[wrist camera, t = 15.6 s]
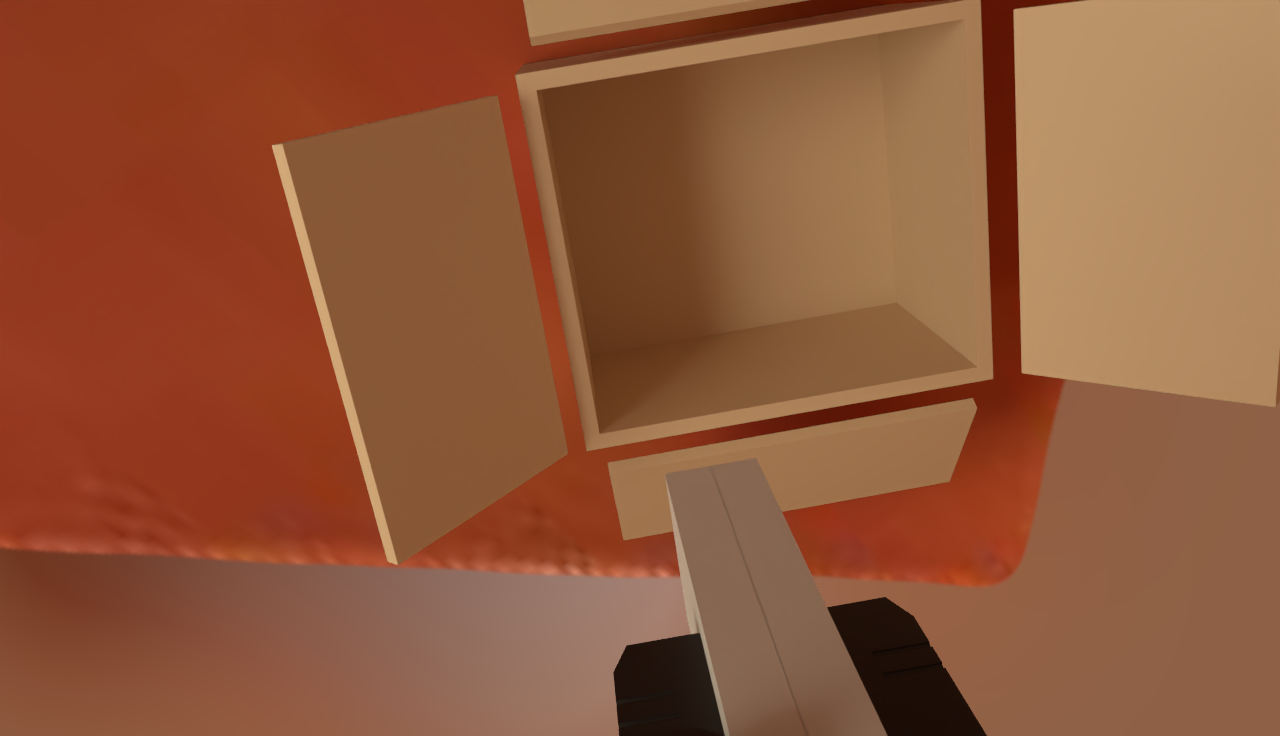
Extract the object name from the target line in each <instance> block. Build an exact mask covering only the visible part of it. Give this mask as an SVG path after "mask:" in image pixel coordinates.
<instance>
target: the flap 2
mask: <svg viewBox="0 0 1280 736" xmlns="http://www.w3.org/2000/svg"><path fill="white" fill-rule="evenodd" d="M523 1H524V7H525V13H526V19H527V25H528V31H529V37H530V42H531V46H535V45H542V44H548V43H554V42H560V41H566V40H572V39H578V38H584V37H590V36H596V35H602V34H608V33H614V32H620V31H626V30H632V29H638V28H644V27H650V26H657V25H663V24H669V23H675V22H681V21H687V20H693V19H699V18H705V17H711V16H717V15H723V14H729V13H735V12H741V11H747V10H753V9H759V8H766V7H772V6H778V5H784V4H790V3H796V2H802V1H808V0H523Z"/></svg>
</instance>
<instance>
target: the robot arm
mask: <svg viewBox="0 0 1280 736" xmlns="http://www.w3.org/2000/svg"><path fill="white" fill-rule="evenodd" d="M665 479H666V485H667V492H668V498H669V505H670V511H671V518H672V524H673V531H674V537H675V543H676V550H677V556H678V563H679V569H680V576H681V582H682V588H683V595H684V601H685V608H686V614H687V619H688V624H689V628H690V633H691V634H690V635H684V636H678V637H673V638H668V639H661V640H656V641H650V642H645V643H639V644H633V645H628V646H626V648H625V650H624V652H623V654H622V656H621V658H620V660H619V663H618V664H617V666H616V668H615V671H614V682H615V694H616V703H617V716H618V725H619V736H987V735H986V734H985V732H984V730H983V729H982V727H981V725H980V724H979V722H978V720H977V719H976V717H975V716H974V714H973V712H972V711H971V709H970V707H969V706H968V704H967V703H966V701H965V699H964V698H963V696H962V694H961V693H960V691H959V690H958V688H957V686H956V685H955V683H954V681H953V680H952V678H951V677H950V675H949V673H948V672H947V670H946V668H943V666H942V662H941V660H940V659H939V657H938V655H937V654H936V652H935V650H934V649H933V647H930V644H929V641H928V639H927V637H926V636H925V634H924V633H923V631H922V629H921V628H920V626H919V624H918V623H917V621H916V620H915V618H914V616H912V615H911V614H909V613H908V612H906V611H905V610H903V609H902V608H900V607H899V606H897V605H896V604H895V603H893V602H891V601H890V600H889V599H887V598H886V597H883V598H878V599H872V600H867V601H861V602H855V603H850V604H844V605H838V606H832V607H826V605H825V603H824V600H823V598H822V596H821V594H820V592H819V590H818V588H817V586H816V583H815V582H814V579H813V577H812V575H811V573H810V571H809V569H808V566H807V564H806V562H805V560H804V558H803V556H802V554H801V552H800V550H799V547H798V545H797V543H796V541H795V539H794V537H793V535H792V533H791V530H790V528H789V526H788V524H787V522H786V520H785V518H784V516H783V514H782V511H781V509H780V507H779V505H778V503H777V501H776V499H775V497H774V494H773V492H772V490H771V488H770V486H769V484H768V482H767V480H766V478H765V475H764V473H763V471H762V469H761V467H760V465H759V463H758V461H757V458H754V459H748V460H742V461H736V462H730V463H725V464H719V465H713V466H707V467H701V468H696V469H690V470H684V471H678V472H672V473H667V474H665Z"/></svg>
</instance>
